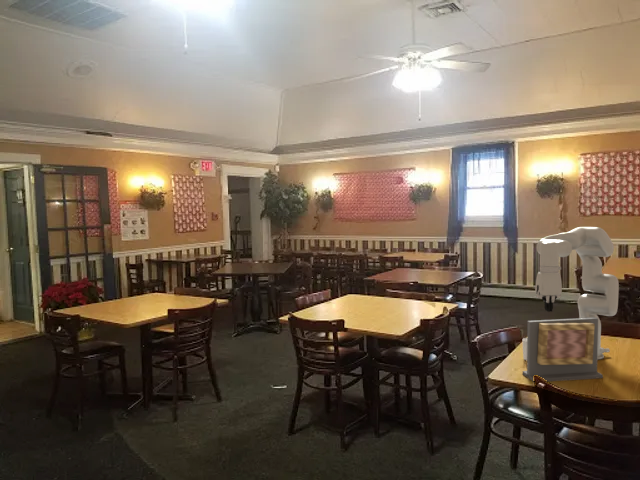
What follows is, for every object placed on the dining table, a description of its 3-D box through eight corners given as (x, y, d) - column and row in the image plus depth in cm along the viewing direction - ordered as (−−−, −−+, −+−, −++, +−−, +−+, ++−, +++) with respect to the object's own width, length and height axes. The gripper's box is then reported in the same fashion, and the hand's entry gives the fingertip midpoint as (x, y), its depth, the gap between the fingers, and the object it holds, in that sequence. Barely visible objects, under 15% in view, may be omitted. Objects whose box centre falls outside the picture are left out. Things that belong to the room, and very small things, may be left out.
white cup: (541, 362, 242) (541, 342, 241) (523, 361, 244) (524, 341, 243) (537, 357, 250) (537, 337, 249) (520, 356, 251) (520, 337, 250)
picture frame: (588, 361, 222) (590, 322, 220) (592, 363, 219) (594, 324, 217) (537, 362, 220) (539, 323, 218) (540, 364, 217) (542, 324, 215)
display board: (588, 370, 229) (589, 315, 227) (602, 378, 219) (603, 320, 217) (522, 374, 227) (523, 318, 224) (533, 382, 217) (534, 324, 215)
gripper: (560, 267, 220) (560, 308, 221) (528, 269, 218) (528, 309, 220) (570, 270, 212) (569, 312, 214) (537, 271, 211) (536, 313, 213)
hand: (548, 310), depth 217 cm, fingers closed
